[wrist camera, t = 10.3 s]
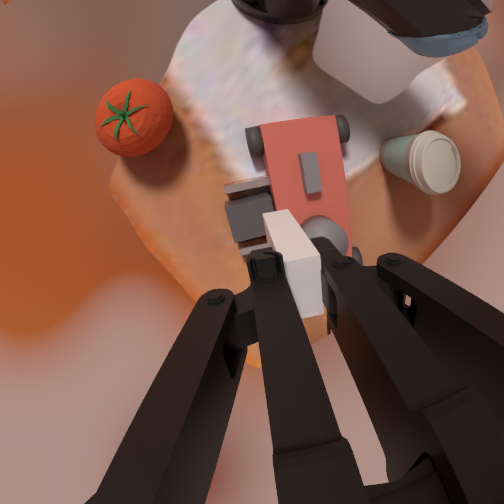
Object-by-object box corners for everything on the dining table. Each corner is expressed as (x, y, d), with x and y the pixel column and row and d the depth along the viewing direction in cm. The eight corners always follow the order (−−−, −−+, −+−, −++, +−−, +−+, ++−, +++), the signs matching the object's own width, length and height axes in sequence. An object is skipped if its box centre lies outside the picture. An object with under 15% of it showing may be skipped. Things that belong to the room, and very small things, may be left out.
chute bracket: (224, 184, 38) (224, 186, 36) (266, 175, 38) (268, 177, 36) (239, 249, 42) (240, 255, 40) (278, 240, 42) (281, 246, 40)
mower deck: (244, 129, 36) (248, 125, 28) (335, 116, 36) (359, 111, 28) (275, 283, 45) (284, 311, 37) (353, 264, 45) (374, 287, 37)
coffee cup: (398, 191, 41) (444, 210, 30) (362, 160, 39) (407, 169, 27) (421, 152, 38) (470, 160, 27) (388, 118, 36) (436, 116, 25)
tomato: (147, 72, 31) (123, 53, 22) (194, 117, 35) (183, 108, 25) (99, 125, 33) (64, 122, 24) (143, 169, 37) (117, 178, 27)
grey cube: (225, 201, 40) (224, 207, 36) (266, 191, 40) (270, 196, 36) (234, 233, 41) (234, 243, 38) (273, 223, 41) (278, 231, 38)
